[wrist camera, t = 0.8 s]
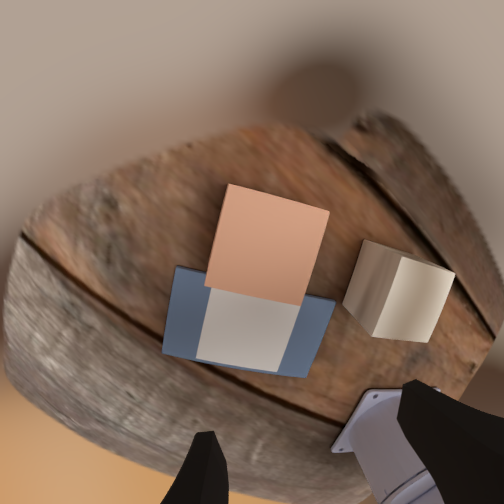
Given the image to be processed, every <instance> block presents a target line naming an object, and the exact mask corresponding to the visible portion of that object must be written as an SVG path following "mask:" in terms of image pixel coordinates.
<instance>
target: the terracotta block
mask: <svg viewBox="0 0 504 504" xmlns="http://www.w3.org/2000/svg"><path fill="white" fill-rule="evenodd" d="M329 214H330V211H326V210H323V209H320V208H316V207H313V206H310V205H306V204H303V203H299V202H296V201H292V200H289V199H285V198H281V197H278V196H274V195H271V194H267V193H263V192H259V191H256V190H252V189H248V188H244V187H240V186H236V185H232V184H228V185H227V189H226V192H225V196H224V200H223V204H222V208H221V212H220V216H219V220H218V224H217V228H216V232H215V236H214V240H213V245H212V249H211V253H210V257H209V262H208V267H207V273H206V278H205V284H204V286H207V287H211V288H216V289H220V290H225V291H229V292H234V293H238V294H243V295H248V296H252V297H257V298H262V299H267V300H272V301H277V302H282V303H287V304H292V305H297V306H301V304H302V301H303V298H304V295H305V292H306V289H307V286H308V283H309V280H310V277H311V274H312V270H313V267H314V264H315V261H316V258H317V254H318V251H319V248H320V244H321V241H322V238H323V234H324V231H325V228H326V224H327V221H328V217H329Z"/></svg>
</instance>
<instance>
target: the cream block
mask: <svg viewBox="0 0 504 504" xmlns="http://www.w3.org/2000/svg"><path fill="white" fill-rule="evenodd" d="M454 276H455V273H453V272H451V271H449V270H447V269H445V268H443V267H440V266H438V265H436V264H434V263H432V262H429V261H427V260H425V259H423V258H420V257H418V256H416V255H413V254H410V253H407V252H404V251H401V250H398V249H395V248H391V247H388V246H385V245H382V244H378V243H375V242H372V241H369V240H365V239H364V240H363V244H362V247H361V250H360V253H359V256H358V260H357V263H356V266H355V269H354V272H353V275H352V278H351V281H350V283H349V286H348V289H347V292H346V295H345V298H344V300H343V303H342V305H343V306H344V307H345V308H346V309H347V310H348V311H349V313H350V314H351V315H352V316H353V317H354V318H355V319H356V320H357V321H358V322H359V323H360V325H361V326H362V327H363V328H364V329H365V330H366V331H367V332H368V333H369V334H370V336H371V337H379V338H387V339H396V340H405V341H415V342H426V343H428V340H429V338H430V336H431V334H432V332H433V330H434V327H435V325H436V323H437V320H438V318H439V316H440V313H441V311H442V308H443V306H444V303H445V301H446V298H447V296H448V293H449V290H450V288H451V285H452V282H453V279H454Z"/></svg>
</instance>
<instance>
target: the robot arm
mask: <svg viewBox="0 0 504 504" xmlns="http://www.w3.org/2000/svg"><path fill="white" fill-rule="evenodd" d="M331 451H332V452H333V453H341V452H354V453H355V456H356V458H357V460H358V462H359V464H360V466H361V468H362V470H363V473H364V475H365V477H366V479H367V481H368V483H369V485H370V488H371V490H372V492H373V494H374V496H375V498H376V500H377V502H378V504H504V418H501V417H498V416H495V415H491V414H488V413H485V412H482V411H480V410H477V409H474V408H472V407H470V406H467V405H465V404H463V403H461V402H459V401H457V400H455V399H453V398H451V397H449V396H447V395H445V394H443V393H441V392H440V389H439V388H432V387H430V386H428V385H426V384H424V383H422V382H420V381H418V380H417V379H415V380H413V381H410V382H408V383H405V384H403V388H402V389H371V390H368V391H367V392H366V393H365V394H364V396H363V397H362V399H361V401H360V403H359V404H358V406H357V408H356V410H355V411H354V413H353V415H352V416H351V418H350V420H349V421H348V423H347V424H346V426H345V428H344V429H343V431H342V432H341V434H340V435H339V437H338V438H337V440H336V441H335V443H334V444H333V446H332V447H331ZM228 494H229V482H228V472H227V463H226V459H225V457H224V455H223V452H222V450H221V448H220V445H219V443H218V440H217V438H216V435H215V433H214V431H208V432H197V433H196V434H195V436H194V439H193V442H192V444H191V447H190V449H189V452H188V454H187V456H186V458H185V461H184V463H183V465H182V467H181V469H180V471H179V473H178V475H177V477H176V479H175V481H174V482H173V484H172V486H171V487H170V489H169V491H168V492H167V494H166V496H165V497H164V499H163V500H162V502H161V503H160V504H228V496H229V495H228Z"/></svg>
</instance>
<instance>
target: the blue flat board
mask: <svg viewBox="0 0 504 504" xmlns="http://www.w3.org/2000/svg"><path fill="white" fill-rule="evenodd" d="M206 273H207V272H203V271H198V270H194V269H190V268H186V267H182V266H177V267H176V270H175V275H174V281H173V286H172V292H171V297H170V303H169V309H168V315H167V321H166V327H165V333H164V340H163V347H162V353H163V354H167V355H171V356H175V357H180V358H184V359H189V360H193V361H198V362H203V363H208V364H213V365H218V366H224V367H229V368H235V369H241V370H248V371H254V372H261V373H268V374H276V375H284V376H292V377H301V378H306V376H307V374H308V372H309V370H310V367H311V365H312V363H313V360H314V358H315V355H316V353H317V351H318V348H319V346H320V343H321V341H322V338H323V336H324V333H325V331H326V328H327V325H328V323H329V320H330V318H331V315H332V312H333V310H334V307H335V304H336V301H335V300H333V299H328V298H323V297H318V296H313V295H308V294H305V295H304V298H303V301H302V304H301V306H297V305H292V304H287V303H282V302H277V301H272V300H267V299H262V298H257V297H252V296H248V295H243V294H238V293H234V292H229V291H225V290H220V289H216V288H211V287H207V286H204V284H205V278H206Z"/></svg>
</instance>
